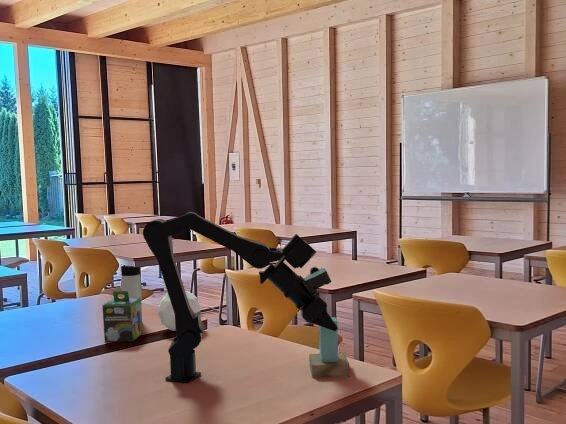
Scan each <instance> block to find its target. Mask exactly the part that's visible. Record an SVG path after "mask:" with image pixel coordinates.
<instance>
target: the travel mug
mask: <svg viewBox="0 0 566 424" xmlns="http://www.w3.org/2000/svg"><path fill="white" fill-rule="evenodd" d="M120 272H121V274H120V277H121V278H120V282H121V283H120V284H121V291H127V292H128V295H129V298H141V299H142V284H141V282H142V280H141V266H139V265H138V266H135V265H121V266H120ZM124 297H125V296H124V295H123V294H121V298H124ZM142 306H143V304H142V302H141V313H142V314H143V308H142Z"/></svg>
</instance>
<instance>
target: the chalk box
mask: <svg viewBox="0 0 566 424" xmlns="http://www.w3.org/2000/svg"><path fill="white" fill-rule="evenodd" d="M122 294H123V295H124V296H125V297H124V298H122V297H119V295H122ZM112 295H113V299H111V300H108V301H107V302H106V303H104V304H102V320H103V321H102V322H103V334H104V342H123V343H124V342H127V343H128V342H131V343H133V342H135V340H137V339H138V337H140V336H141V335H142V334H143V333H144V330H143V329H144V328H143V312H142V313H141V303H142V297H141V298H129V295H128V292H127V291H122V290H114V291H113V292H112Z"/></svg>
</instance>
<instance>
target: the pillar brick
mask: <svg viewBox="0 0 566 424" xmlns="http://www.w3.org/2000/svg"><path fill="white" fill-rule="evenodd" d="M330 317H331V319H332V320H333V321H334V323H335V324H336V326H337V327H338V329H337V330H336V331H333V330H330V329H327V328H324V327H321V326H319V325H318V327H319V331H318V332H319V333H318V335H319V337H318V339H319V343H318V344H319V354H320V359H321V362H336V361H338V353H339V348H338V346H339V345H338V342H339V341H338V339H339V337H338V336H339V335H338V333H339V326H338V324H339V321H338V319H337V318H336V316H334V317H332V316H330Z"/></svg>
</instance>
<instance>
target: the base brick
mask: <svg viewBox="0 0 566 424" xmlns="http://www.w3.org/2000/svg"><path fill="white" fill-rule="evenodd" d="M308 356H309V368H310V374H311V378H312V379H313V378H314V379H316V378H317V379H318V378H322V379H323V378H344V377H345V378H347V377H349V378H350V377H351V376H350V363H349V361H348V357H347V355H346V353H345V352H338V361H336V362H321V359H320V353H309V355H308Z"/></svg>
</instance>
